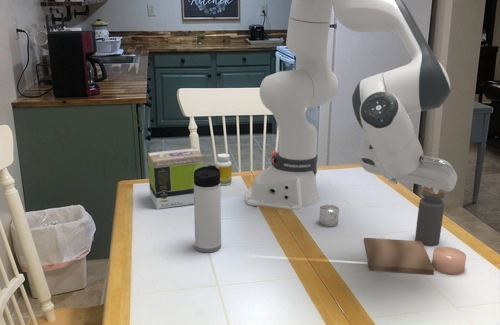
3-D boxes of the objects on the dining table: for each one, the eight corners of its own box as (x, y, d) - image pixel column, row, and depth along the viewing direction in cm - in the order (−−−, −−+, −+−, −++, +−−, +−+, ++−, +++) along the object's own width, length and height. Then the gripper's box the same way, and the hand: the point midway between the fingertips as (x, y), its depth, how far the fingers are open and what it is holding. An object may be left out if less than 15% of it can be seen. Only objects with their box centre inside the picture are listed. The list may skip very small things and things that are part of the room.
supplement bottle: (211, 183, 167) (211, 155, 164) (223, 179, 171) (223, 151, 168) (223, 187, 164) (223, 158, 161) (235, 183, 168) (235, 155, 165)
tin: (319, 228, 135) (320, 211, 133) (318, 221, 140) (319, 204, 138) (338, 230, 134) (339, 212, 133) (337, 222, 139) (338, 205, 138)
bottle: (440, 247, 126) (448, 190, 121) (416, 244, 127) (423, 188, 122) (437, 236, 131) (444, 182, 127) (413, 234, 132) (420, 180, 128)
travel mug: (225, 243, 127) (225, 166, 120) (215, 254, 121) (214, 175, 114) (202, 239, 128) (200, 163, 122) (190, 250, 123) (188, 171, 116)
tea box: (197, 192, 160) (196, 146, 155) (206, 203, 151) (205, 155, 146) (149, 197, 155) (147, 151, 150) (155, 210, 146) (153, 160, 141)
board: (369, 270, 115) (369, 265, 114) (363, 241, 128) (364, 237, 128) (433, 274, 113) (434, 269, 113) (421, 245, 126) (421, 241, 126)
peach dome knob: (435, 274, 114) (437, 260, 113) (428, 259, 120) (430, 245, 119) (468, 276, 113) (470, 262, 112) (459, 261, 119) (461, 247, 118)
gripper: (456, 150, 99) (466, 184, 109) (362, 132, 112) (379, 164, 122) (444, 177, 97) (456, 210, 107) (350, 156, 110) (368, 186, 120)
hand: (414, 185), depth 115 cm, fingers open, 8 cm apart
